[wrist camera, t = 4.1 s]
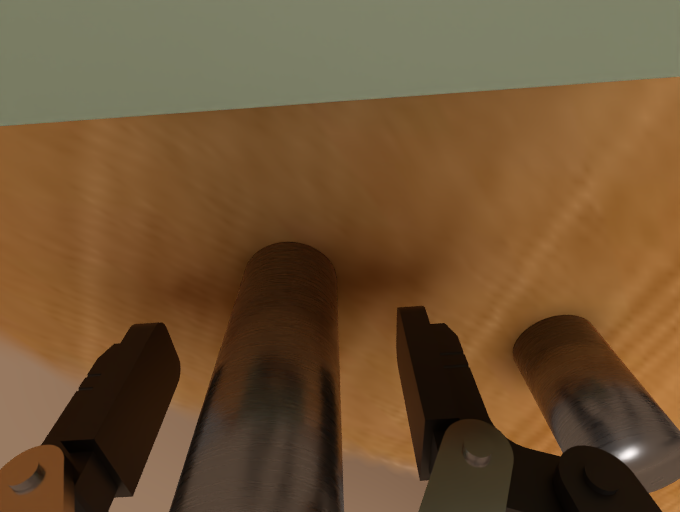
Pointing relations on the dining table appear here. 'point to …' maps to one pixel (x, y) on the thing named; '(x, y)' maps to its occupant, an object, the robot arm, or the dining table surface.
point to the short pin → (596, 399)
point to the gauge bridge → (312, 51)
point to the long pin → (272, 395)
